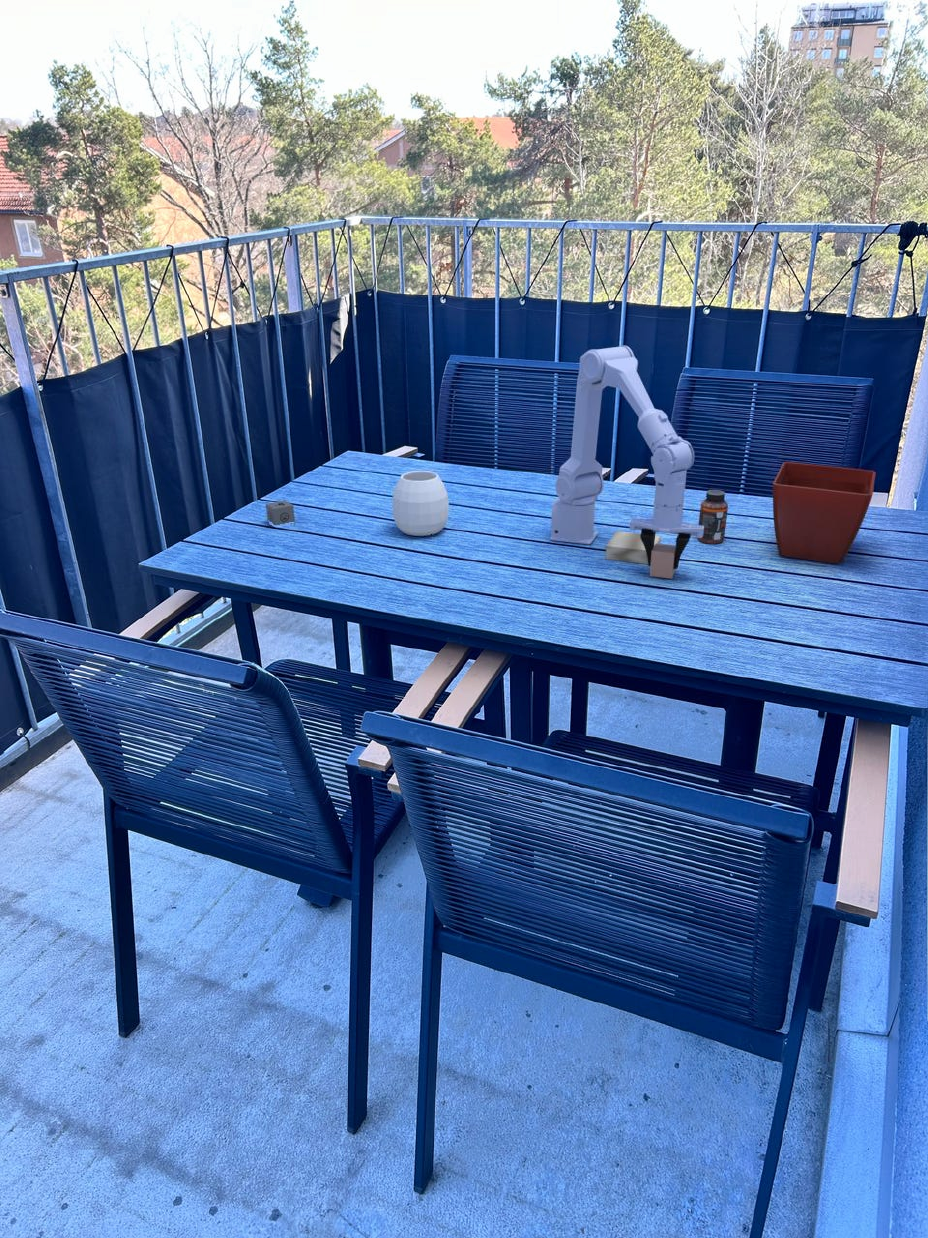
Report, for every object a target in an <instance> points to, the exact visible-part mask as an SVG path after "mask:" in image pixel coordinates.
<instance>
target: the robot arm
mask: <svg viewBox="0 0 928 1238" xmlns="http://www.w3.org/2000/svg"><path fill="white" fill-rule="evenodd" d="M638 361H639V360H638V359H637V358H636V357H635V354H634V352H633V350H632V349H631V348H630V347H629V346H627V345H619V346H616V347H607V348H606V347H605V348H601V349H600V348H599V349H589V350H587V351H586V352H584V354H582V355H581V356H580V357H579V367H578V375H577V380H576V381H577V382H576V391H575V392H576V393H575V403H574V416H573V417H574V418H573V426H572V427H573V429H572V440H571V449H570V450H571V451H570V457H569V458H568V459H567V460H566V461H565V462H564V463H563V464H562V465H561V466H560V467H559V473H558V477H557V479H556V481H555V493H556V495H557V497H558V498H555V499H554V501H553V504H552V508H551V522H550V523H551V525H550V527H551V528H550V538H549V539H550V540H551V541H556V542H565V543H573V544H582V545H584V544H585V545H592V543H593V541H594V540H595V538H597V536H598V534H599V532H598V531H596V530H594V529H595V528H594V526H595V507H596V501H598V499H599V495H600V494H602V492H603V491H604V486H605V482H604V481H605V480H604V477H603V468H604V467H603V466H602V464H600V463H599V462H598V461H597V460H596V457H597V445H598V437H599V436H598V435H599V425H600V416H601V406H602V396H603V390H604V389H605V388H606V387H611V388H612V387H613V388H617V389H618V390H620V392H621V394H622V395H623V397H624V398H625V399H626V402H628V403H629V405H630V407H631V408H632V409H633V411H634V413H635V414H636V416H638V421H637V429H638V430H639V432H640V434H641V435H642V438H644V441H645V442H646V444H647V446H648V448H649V449H650V451H651V453H652V456H651V457H650V463H651V466H652V469H653V472H654V474H653V479H654V481H655V490H654V498H653V499H654V500H653V513H652V518H631V519H630V520H629V521H630V522H629V531H636V530H637V531H640V534H641V535H640V538H641V540H642V542H643V545H644V547H645V550H646V554H647V558H648V564H647V566H648V567H650V566H651V554H652V549H653V547H654V542H655V535H656V534H657V533H661V534H670V535H671V534H672V535H677V536H676V539H675V546H676V552H675V560H674V568H673V569H675V570H677V569H678V567H679V563H680V559H681V556H682V554H683V553H684V550H685V548H686V547H687V545H688V543H689V542H690V539H691V537H696V538H697V537H698V538H702V537H703V533H704V526H701V525H699V524H694V523H690V522H685V521H683V512H684V501H685V491H686V482H687V481H686V480H687V472H688V471H687V470H689V469H691V467H693V465H694V462H695V451H694V448H693V446H692V444H691V443H690V442H689V441H688V440H686V439H683V438H682V436H678V434H677V432H676V430H675V429H674V427H673V425H672V424H671V422H670V420H669V417H668V415H667V413H665V411H663V410H662V409H657V408H655V407H654V404H653V402H652V400H651V398H650V396H649V394H648V392H647V391H646V388H645V386H644V384H643V382H642V380H641V377H640V375H639V373H638V366H639V362H638ZM698 538H697V539H698Z"/></svg>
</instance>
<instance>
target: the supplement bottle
mask: <svg viewBox="0 0 928 1238" xmlns="http://www.w3.org/2000/svg"><path fill="white" fill-rule="evenodd" d="M705 494H706V495H705V497H706V498H705V499H703V500H702V501H701V503H700V507H699V516H698V525H701V526H704V533H703V537H702V538H698V537H697V536H696V538H697V540H698V541H700V542H701V543H705V544H710V545H711V544H714V545H715V544H720V543H722V542H723V541H725V537H726V536H725V534H726V527H727V518H728V509H729V505H728V502H727V501H726V500H725V498H726V497H725V496H726V492H725V491H723V490H719V489H709V490H707V491H706V493H705Z"/></svg>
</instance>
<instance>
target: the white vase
mask: <svg viewBox="0 0 928 1238" xmlns="http://www.w3.org/2000/svg"><path fill="white" fill-rule="evenodd" d="M393 490H394V491H393V494H392V503H391V504H392V505H391V506H392V517H393V519H394V523H395V524H396V527H397V528H398V529H399V530H400V531H401V532H402V533H405V534H406V535H410V536H416V537H417V536H418V537H424V536H426V537H427V536H430V535H431V534H432V535H436V534H437V533H439V532H440V531H442V530H443V529H444V527H445V526H446V524H447V522H448V519H449V516H450V513H449V512H450V503H449V497H448V495H449V494H448V491H447V489H446V487H445V485H444V483H443V481H442V479H441V478H440V475H438V473H435V472H434V471H430V470H413V471H408V472H405V473H403V474H402V475H400V477H399V478H398V481H397V483H396V485H395V488H394V489H393ZM432 535H431V536H432Z"/></svg>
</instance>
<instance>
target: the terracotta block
mask: <svg viewBox="0 0 928 1238" xmlns="http://www.w3.org/2000/svg"><path fill="white" fill-rule="evenodd" d="M675 552H676V545H674V544H665V543H663V544H662V543H660V544H656V543H655V545H654V547H653V549H652V554H651V566H649V567H650V568H649V569H650V570H649V576H650V577H656V578H664V579H673V578H674V574H675V572H676V569H673V568H674V560H675Z"/></svg>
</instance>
